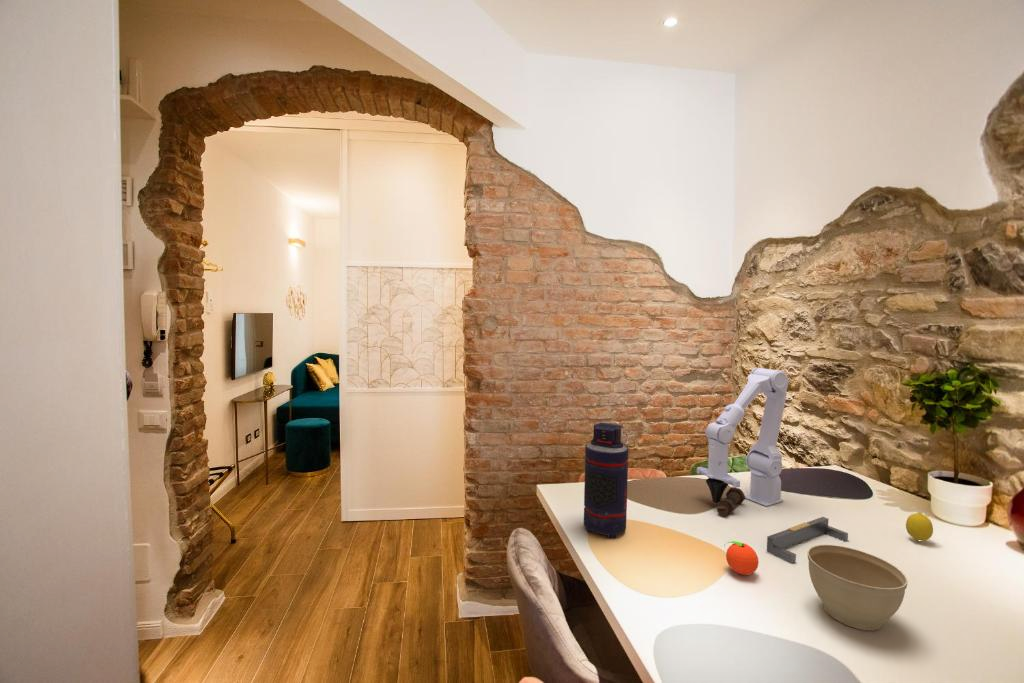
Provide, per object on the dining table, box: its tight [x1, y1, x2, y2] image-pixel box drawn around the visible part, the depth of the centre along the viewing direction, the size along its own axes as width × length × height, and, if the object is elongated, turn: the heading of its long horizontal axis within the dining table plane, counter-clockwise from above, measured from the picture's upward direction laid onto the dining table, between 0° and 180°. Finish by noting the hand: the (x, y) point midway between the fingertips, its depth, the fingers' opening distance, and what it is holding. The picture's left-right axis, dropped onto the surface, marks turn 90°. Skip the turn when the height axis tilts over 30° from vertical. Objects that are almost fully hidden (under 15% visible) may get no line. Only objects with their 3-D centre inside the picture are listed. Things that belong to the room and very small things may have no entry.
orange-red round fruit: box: [723, 540, 760, 576], centre depth 108 cm, size 8×7×7 cm
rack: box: [766, 516, 849, 564], centre depth 121 cm, size 26×6×4 cm, turn 118°
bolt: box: [716, 486, 746, 517], centre depth 143 cm, size 6×5×15 cm
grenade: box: [583, 421, 629, 539], centre depth 129 cm, size 14×12×30 cm
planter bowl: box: [807, 544, 908, 631], centre depth 92 cm, size 16×16×11 cm
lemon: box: [905, 512, 934, 541], centre depth 124 cm, size 6×6×8 cm
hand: (716, 501), depth 146 cm, fingers closed
